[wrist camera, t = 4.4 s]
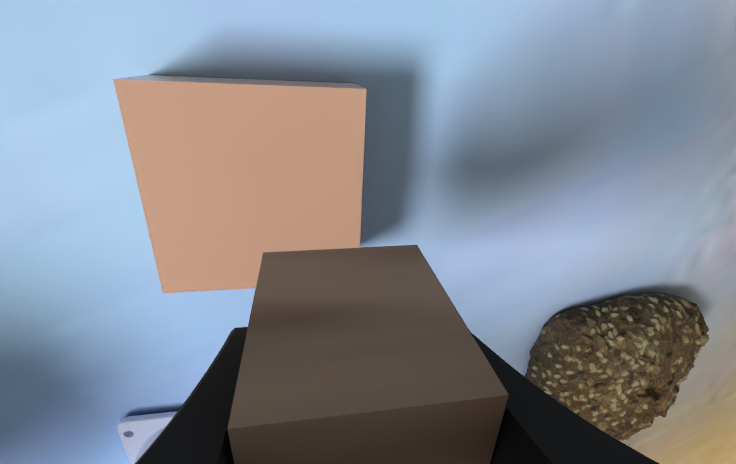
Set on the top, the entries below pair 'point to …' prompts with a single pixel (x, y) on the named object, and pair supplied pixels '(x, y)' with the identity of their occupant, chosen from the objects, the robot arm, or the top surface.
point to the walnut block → (360, 365)
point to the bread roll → (619, 359)
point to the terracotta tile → (242, 171)
